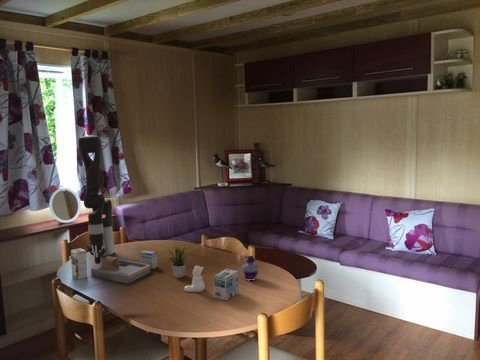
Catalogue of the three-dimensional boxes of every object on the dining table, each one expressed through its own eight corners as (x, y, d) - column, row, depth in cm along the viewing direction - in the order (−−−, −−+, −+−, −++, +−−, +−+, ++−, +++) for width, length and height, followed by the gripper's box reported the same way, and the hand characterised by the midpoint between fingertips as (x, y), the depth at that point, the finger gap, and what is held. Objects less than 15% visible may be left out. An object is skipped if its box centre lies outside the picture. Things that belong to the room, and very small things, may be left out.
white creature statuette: (196, 284, 212) (196, 261, 211) (210, 288, 207) (210, 264, 206) (183, 291, 205) (182, 266, 203) (197, 295, 200) (196, 269, 198)
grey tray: (116, 265, 241) (115, 258, 241) (150, 272, 230) (150, 264, 230) (91, 276, 225) (91, 268, 225) (127, 283, 215) (127, 275, 214)
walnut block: (108, 265, 235) (108, 256, 234) (118, 266, 232) (118, 257, 231) (101, 267, 230) (101, 258, 230) (112, 269, 227) (111, 260, 226)
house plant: (200, 275, 224) (200, 245, 222) (179, 283, 214) (178, 251, 212) (182, 269, 234) (182, 239, 232) (162, 276, 224) (161, 245, 222)
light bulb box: (226, 301, 193) (226, 277, 191) (214, 298, 196) (213, 275, 195) (239, 293, 202) (239, 270, 200) (227, 290, 205) (226, 268, 204)
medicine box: (140, 267, 238) (139, 252, 237) (145, 265, 242) (144, 249, 241) (152, 269, 235) (152, 253, 234) (157, 266, 239) (156, 251, 238)
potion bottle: (257, 283, 214) (257, 259, 212) (240, 281, 215) (240, 258, 214) (260, 276, 222) (260, 254, 221) (243, 275, 224) (243, 253, 222)
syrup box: (71, 277, 223) (70, 250, 221) (82, 274, 228) (81, 247, 226) (77, 280, 219) (75, 252, 217) (88, 277, 224) (86, 249, 222)
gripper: (110, 231, 233) (112, 263, 235) (92, 229, 238) (93, 259, 241) (100, 234, 226) (101, 267, 228) (81, 232, 232) (83, 263, 234)
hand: (97, 263), depth 234 cm, fingers closed
